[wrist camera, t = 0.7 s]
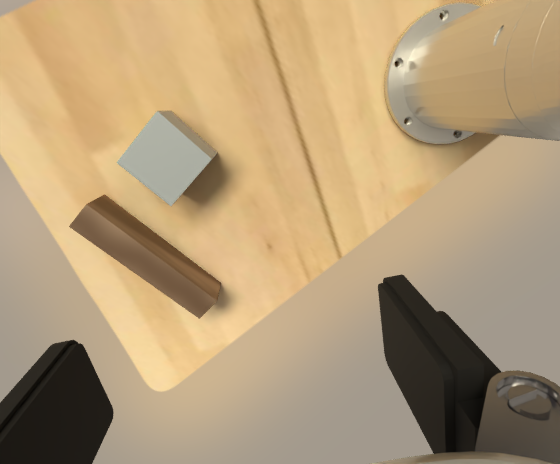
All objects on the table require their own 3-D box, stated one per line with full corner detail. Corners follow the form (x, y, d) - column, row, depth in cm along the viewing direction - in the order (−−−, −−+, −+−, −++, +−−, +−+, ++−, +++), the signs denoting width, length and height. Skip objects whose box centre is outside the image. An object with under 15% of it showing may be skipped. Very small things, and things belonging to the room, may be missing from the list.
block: (171, 110, 34) (157, 110, 29) (218, 152, 35) (211, 158, 31) (135, 155, 35) (116, 162, 30) (182, 194, 37) (171, 206, 32)
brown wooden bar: (104, 194, 36) (86, 204, 32) (221, 283, 40) (217, 300, 37) (88, 214, 37) (68, 226, 33) (205, 299, 41) (199, 318, 37)
